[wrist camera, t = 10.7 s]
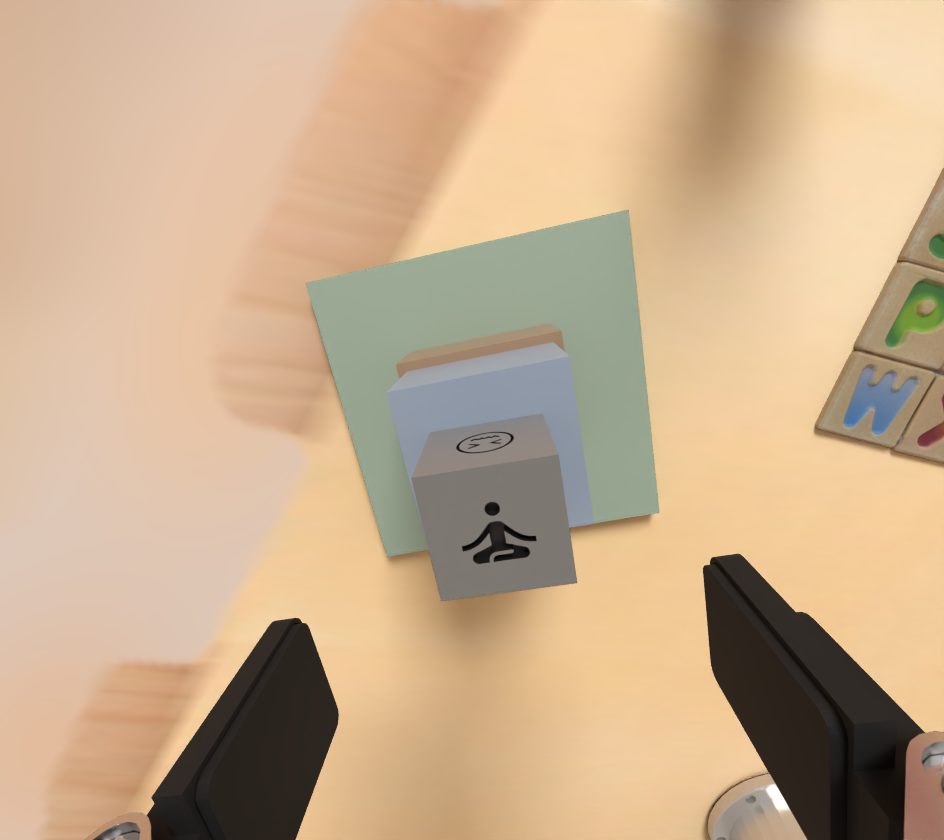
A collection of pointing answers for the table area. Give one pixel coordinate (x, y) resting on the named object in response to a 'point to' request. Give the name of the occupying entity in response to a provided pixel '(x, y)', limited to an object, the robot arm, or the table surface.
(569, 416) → the stepped block pyramid
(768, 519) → the table surface
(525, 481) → the dice cube
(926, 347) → the alphabet tiles
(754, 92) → the table surface
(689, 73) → the table surface
